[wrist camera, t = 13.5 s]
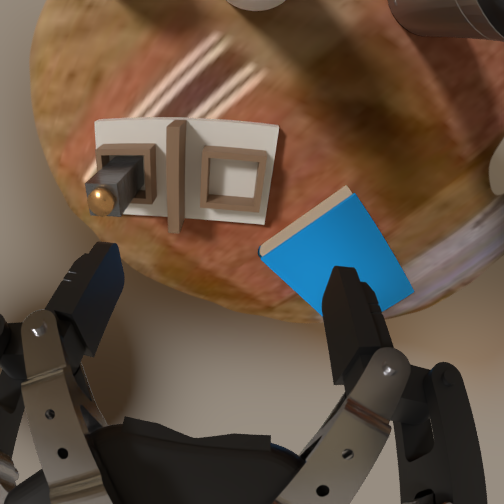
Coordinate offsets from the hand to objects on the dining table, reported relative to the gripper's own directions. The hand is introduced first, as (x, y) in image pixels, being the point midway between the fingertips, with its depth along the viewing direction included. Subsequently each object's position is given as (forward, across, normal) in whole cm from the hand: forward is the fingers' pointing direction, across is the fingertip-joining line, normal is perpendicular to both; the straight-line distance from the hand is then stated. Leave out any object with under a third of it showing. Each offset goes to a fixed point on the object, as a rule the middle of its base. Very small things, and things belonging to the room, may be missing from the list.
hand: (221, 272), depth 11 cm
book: (+30, -18, +22) cm, 42 cm away
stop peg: (+27, +15, +8) cm, 32 cm away
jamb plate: (+29, +8, +8) cm, 31 cm away
